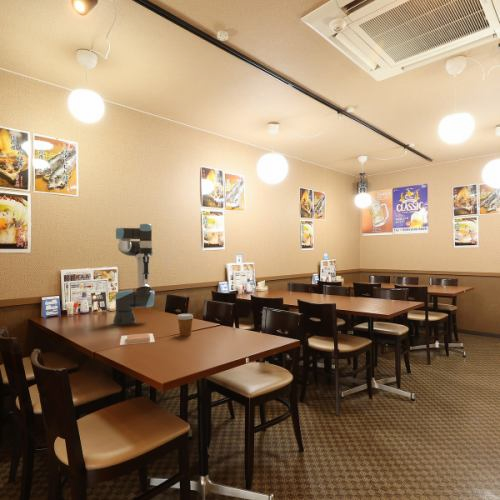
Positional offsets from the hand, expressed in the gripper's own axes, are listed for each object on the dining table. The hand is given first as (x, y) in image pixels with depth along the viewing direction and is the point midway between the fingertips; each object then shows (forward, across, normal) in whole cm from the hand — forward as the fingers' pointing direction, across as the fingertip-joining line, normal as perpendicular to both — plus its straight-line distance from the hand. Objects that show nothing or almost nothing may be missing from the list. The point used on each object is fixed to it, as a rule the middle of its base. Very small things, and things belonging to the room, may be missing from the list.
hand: (146, 284), depth 227 cm
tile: (+28, +25, -5) cm, 37 cm away
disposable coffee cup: (+30, +24, +22) cm, 44 cm away
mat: (+29, +27, -6) cm, 40 cm away
